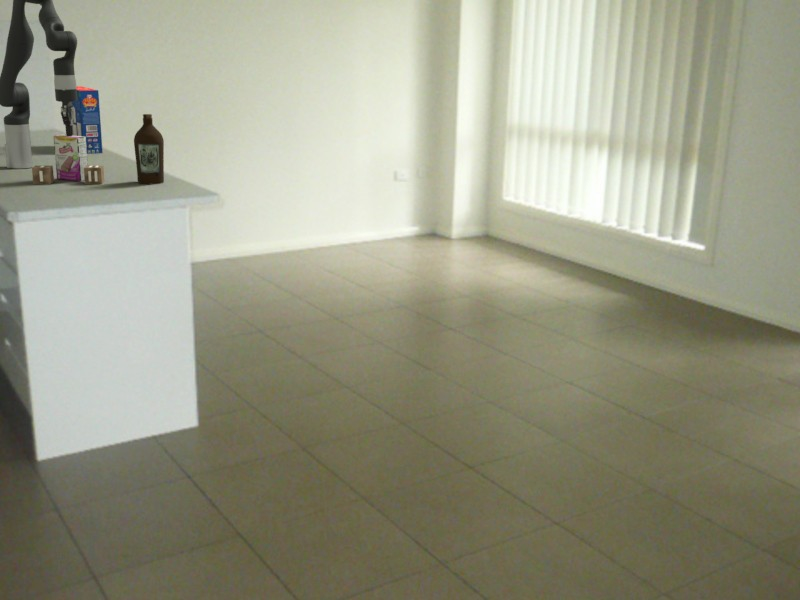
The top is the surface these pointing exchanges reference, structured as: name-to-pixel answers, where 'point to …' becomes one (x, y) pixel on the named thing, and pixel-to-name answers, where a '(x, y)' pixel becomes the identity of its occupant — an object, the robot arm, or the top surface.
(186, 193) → the top surface
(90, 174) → the walnut block two
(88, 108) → the pasta box
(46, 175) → the walnut block one
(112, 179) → the top surface
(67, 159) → the candy bar box
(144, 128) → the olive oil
